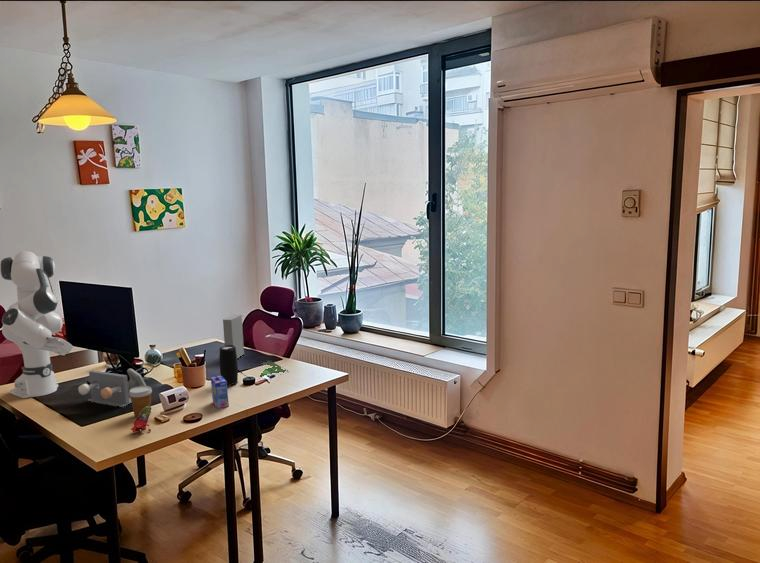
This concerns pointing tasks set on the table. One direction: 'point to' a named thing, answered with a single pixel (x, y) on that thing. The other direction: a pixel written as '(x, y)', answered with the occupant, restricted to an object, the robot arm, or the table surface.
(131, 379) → the grey curved piece
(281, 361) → the table surface
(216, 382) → the ink cartridge box
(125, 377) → the mount
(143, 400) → the disposable coffee cup
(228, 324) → the grey upright block
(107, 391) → the knob terracotta
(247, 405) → the table surface
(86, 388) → the knob cream
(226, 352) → the portable speaker
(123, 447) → the table surface
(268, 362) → the green leafy plant
